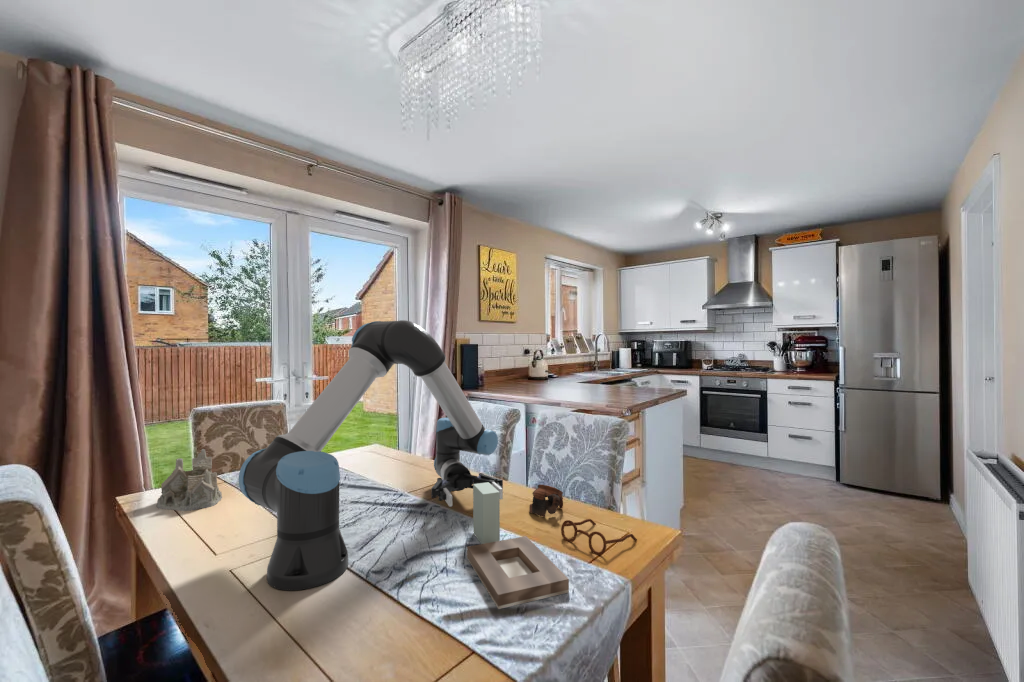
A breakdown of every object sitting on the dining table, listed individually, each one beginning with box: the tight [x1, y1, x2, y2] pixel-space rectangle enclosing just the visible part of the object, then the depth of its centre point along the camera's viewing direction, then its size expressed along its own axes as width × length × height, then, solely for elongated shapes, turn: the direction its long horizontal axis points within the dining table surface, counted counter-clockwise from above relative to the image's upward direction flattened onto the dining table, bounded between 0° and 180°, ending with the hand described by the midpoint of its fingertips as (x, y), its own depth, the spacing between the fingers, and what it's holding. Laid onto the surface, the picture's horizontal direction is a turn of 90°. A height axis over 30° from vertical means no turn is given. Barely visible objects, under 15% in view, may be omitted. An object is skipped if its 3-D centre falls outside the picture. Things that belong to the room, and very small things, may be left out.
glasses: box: [560, 518, 638, 556], centre depth 106 cm, size 13×13×5 cm
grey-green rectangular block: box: [472, 482, 501, 544], centre depth 106 cm, size 4×8×12 cm, turn 22°
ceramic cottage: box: [156, 448, 223, 512], centre depth 131 cm, size 16×16×15 cm
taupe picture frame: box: [466, 535, 570, 610], centre depth 90 cm, size 14×20×2 cm
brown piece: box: [528, 484, 564, 518], centre depth 123 cm, size 12×10×8 cm
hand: (476, 497), depth 114 cm, fingers open, 13 cm apart
